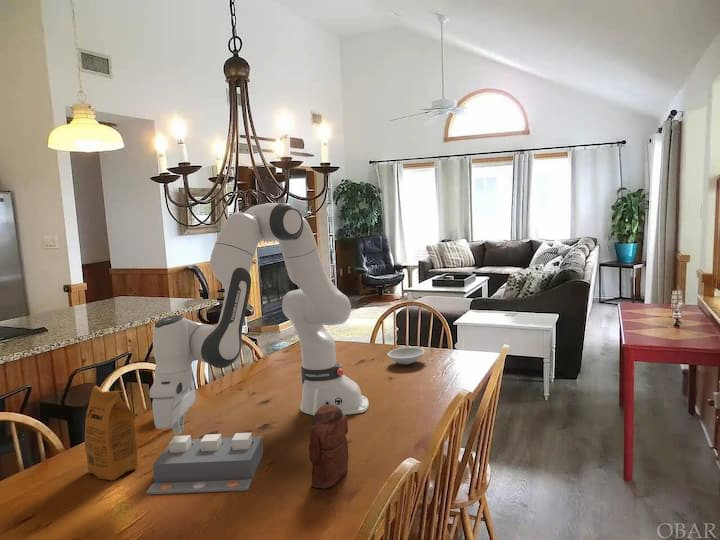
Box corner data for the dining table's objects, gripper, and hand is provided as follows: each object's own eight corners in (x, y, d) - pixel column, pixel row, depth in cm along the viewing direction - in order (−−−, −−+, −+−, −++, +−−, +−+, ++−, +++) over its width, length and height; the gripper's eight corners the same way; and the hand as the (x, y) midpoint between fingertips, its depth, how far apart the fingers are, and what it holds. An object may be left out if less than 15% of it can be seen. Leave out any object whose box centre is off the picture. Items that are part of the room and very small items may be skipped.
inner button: (252, 448, 143) (251, 432, 142) (249, 455, 138) (248, 439, 138) (236, 449, 143) (235, 433, 142) (232, 456, 139) (231, 440, 138)
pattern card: (251, 481, 131) (251, 478, 131) (247, 490, 127) (247, 486, 127) (153, 485, 132) (152, 482, 132) (146, 494, 128) (146, 491, 128)
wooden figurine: (329, 465, 138) (325, 396, 136) (352, 469, 135) (348, 399, 133) (305, 488, 127) (301, 413, 125) (329, 492, 124) (325, 417, 122)
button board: (263, 453, 146) (262, 436, 146) (252, 479, 132) (250, 460, 132) (174, 457, 147) (173, 439, 146) (154, 483, 133) (152, 464, 132)
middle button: (222, 449, 143) (221, 433, 142) (218, 456, 139) (216, 440, 138) (206, 450, 143) (205, 434, 142) (201, 457, 139) (200, 441, 138)
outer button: (192, 450, 143) (190, 435, 142) (186, 458, 139) (185, 442, 138) (176, 451, 143) (174, 435, 143) (170, 458, 139) (169, 442, 138)
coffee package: (117, 457, 149) (109, 379, 146) (144, 468, 142) (136, 386, 139) (81, 473, 141) (72, 390, 138) (108, 485, 134) (99, 398, 131)
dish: (403, 356, 234) (402, 345, 234) (432, 360, 226) (432, 349, 225) (380, 367, 220) (379, 355, 220) (410, 372, 212) (410, 359, 211)
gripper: (176, 369, 149) (180, 417, 150) (146, 393, 129) (151, 449, 130) (199, 368, 149) (203, 417, 150) (172, 392, 129) (177, 448, 130)
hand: (178, 432), depth 140 cm, fingers closed
